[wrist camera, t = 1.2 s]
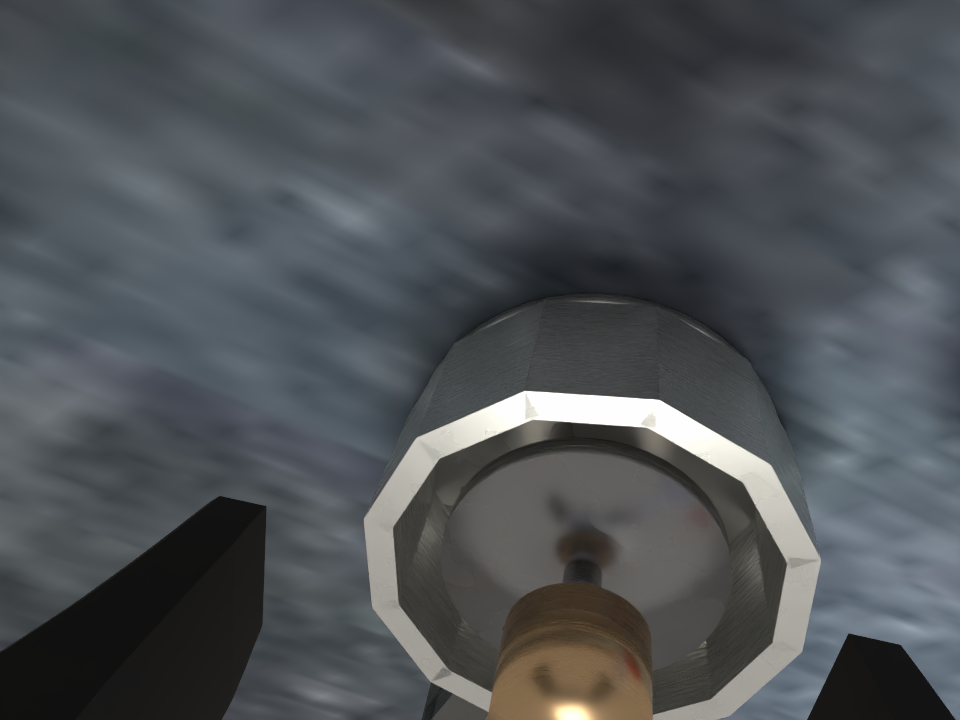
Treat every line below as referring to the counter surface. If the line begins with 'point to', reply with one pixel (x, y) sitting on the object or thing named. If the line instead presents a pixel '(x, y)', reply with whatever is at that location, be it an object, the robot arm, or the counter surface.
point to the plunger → (584, 575)
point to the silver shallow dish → (610, 416)
